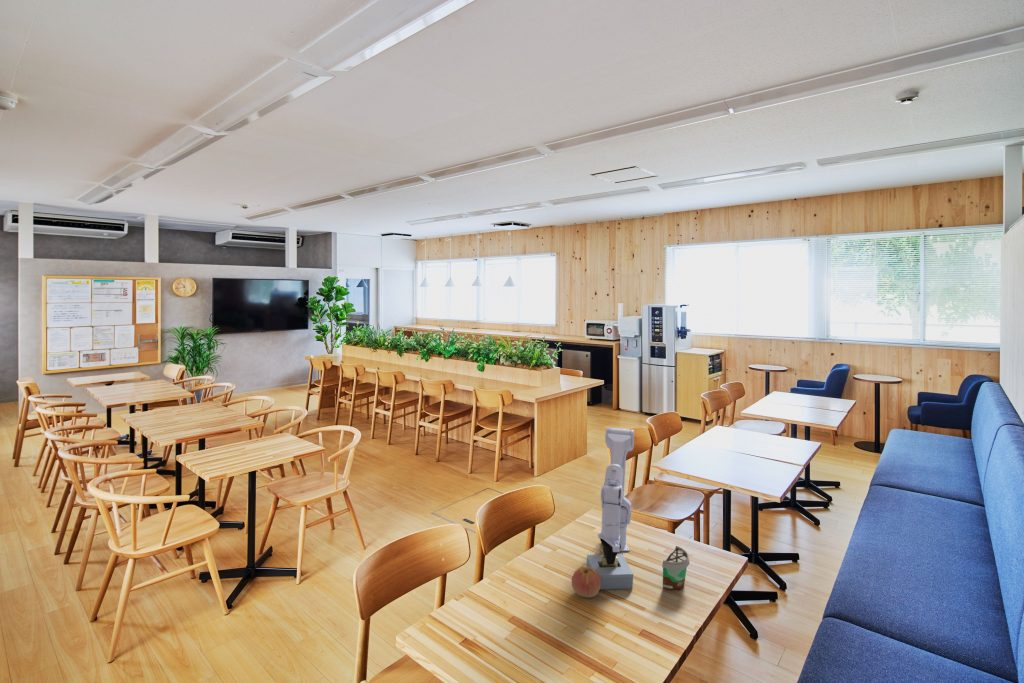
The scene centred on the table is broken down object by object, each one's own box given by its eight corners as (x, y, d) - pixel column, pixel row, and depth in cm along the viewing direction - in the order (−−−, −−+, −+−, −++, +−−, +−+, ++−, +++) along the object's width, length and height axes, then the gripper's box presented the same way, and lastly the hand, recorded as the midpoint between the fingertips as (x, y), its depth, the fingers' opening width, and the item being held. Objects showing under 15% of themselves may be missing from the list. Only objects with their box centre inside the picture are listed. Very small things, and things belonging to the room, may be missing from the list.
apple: (599, 604, 154) (600, 579, 154) (570, 600, 156) (570, 575, 155) (600, 587, 163) (601, 564, 162) (572, 584, 165) (573, 560, 164)
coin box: (586, 568, 174) (586, 554, 173) (621, 567, 175) (622, 553, 174) (595, 590, 162) (595, 575, 161) (632, 588, 163) (633, 574, 162)
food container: (680, 598, 158) (682, 567, 157) (660, 590, 162) (662, 560, 161) (693, 580, 168) (695, 551, 167) (674, 573, 172) (676, 544, 171)
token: (600, 569, 169) (601, 555, 168) (615, 569, 169) (616, 554, 169) (602, 573, 167) (602, 558, 166) (617, 572, 167) (617, 558, 167)
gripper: (593, 511, 173) (591, 550, 175) (604, 533, 159) (602, 574, 160) (613, 511, 173) (612, 549, 175) (626, 532, 159) (625, 573, 161)
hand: (609, 561), depth 168 cm, fingers closed on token, 2 cm apart
